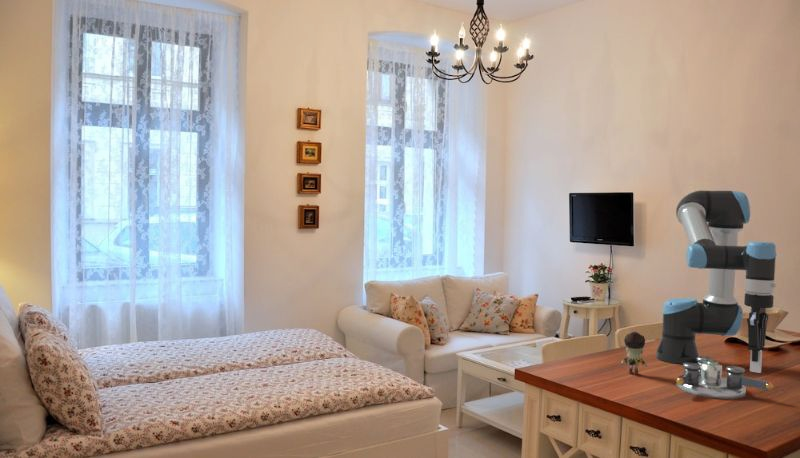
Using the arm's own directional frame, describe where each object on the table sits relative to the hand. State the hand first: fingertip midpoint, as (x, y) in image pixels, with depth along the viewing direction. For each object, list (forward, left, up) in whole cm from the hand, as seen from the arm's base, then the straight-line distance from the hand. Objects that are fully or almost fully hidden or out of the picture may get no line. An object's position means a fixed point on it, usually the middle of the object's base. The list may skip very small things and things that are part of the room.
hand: (755, 371), depth 189 cm
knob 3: (-3, +6, -8) cm, 10 cm away
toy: (-39, +4, -10) cm, 41 cm away
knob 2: (-18, +16, -8) cm, 25 cm away
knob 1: (-18, -4, -8) cm, 20 cm away
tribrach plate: (-14, +6, -10) cm, 18 cm away
